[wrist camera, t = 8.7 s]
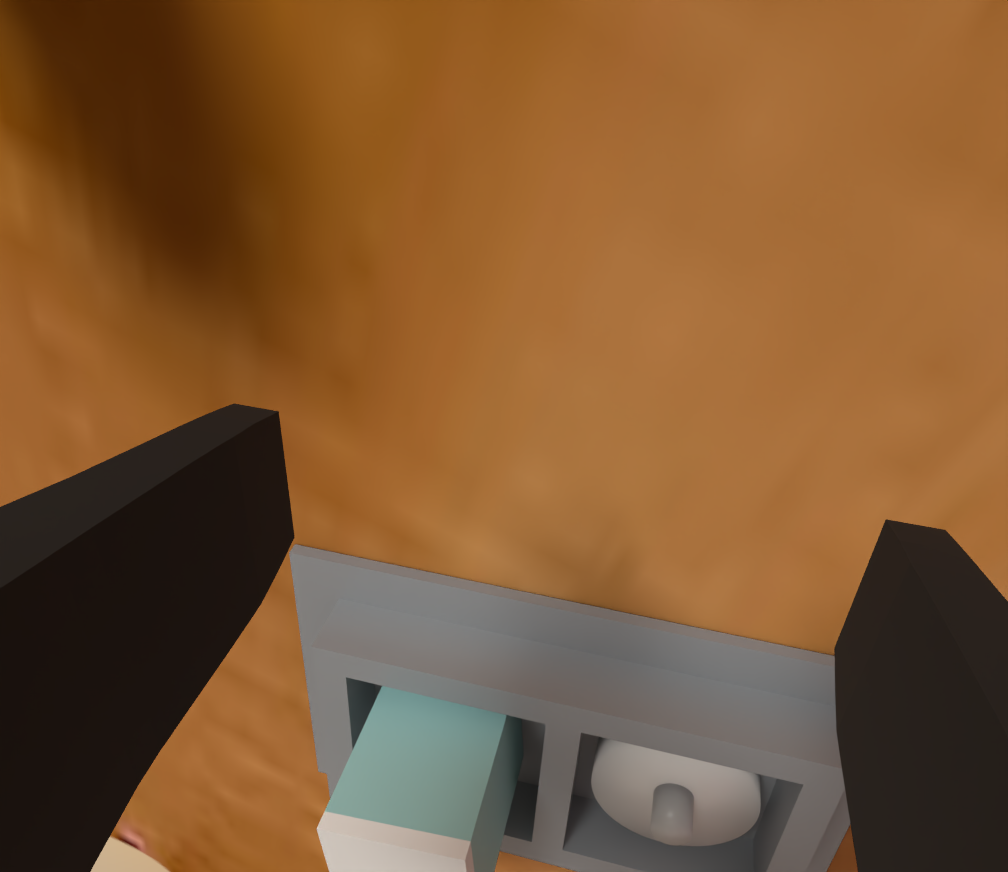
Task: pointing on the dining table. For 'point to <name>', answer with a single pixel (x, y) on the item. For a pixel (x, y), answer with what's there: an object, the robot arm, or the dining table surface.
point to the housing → (591, 717)
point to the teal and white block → (423, 788)
